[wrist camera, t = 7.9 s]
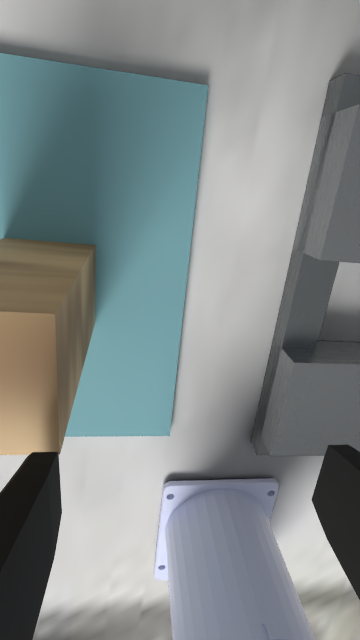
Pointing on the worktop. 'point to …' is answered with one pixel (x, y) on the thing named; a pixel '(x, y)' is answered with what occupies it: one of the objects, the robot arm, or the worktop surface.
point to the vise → (318, 300)
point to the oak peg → (42, 339)
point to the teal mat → (109, 218)
